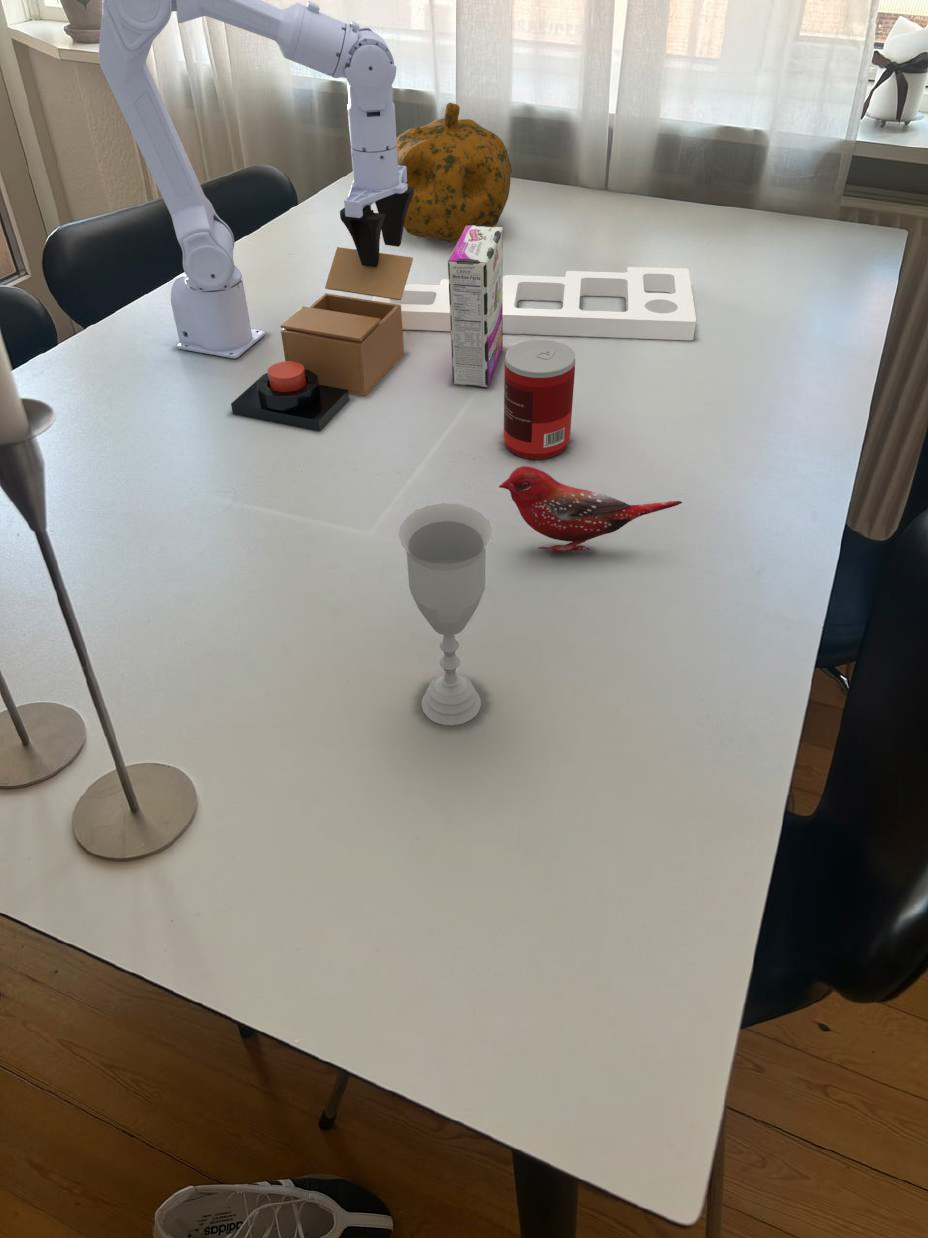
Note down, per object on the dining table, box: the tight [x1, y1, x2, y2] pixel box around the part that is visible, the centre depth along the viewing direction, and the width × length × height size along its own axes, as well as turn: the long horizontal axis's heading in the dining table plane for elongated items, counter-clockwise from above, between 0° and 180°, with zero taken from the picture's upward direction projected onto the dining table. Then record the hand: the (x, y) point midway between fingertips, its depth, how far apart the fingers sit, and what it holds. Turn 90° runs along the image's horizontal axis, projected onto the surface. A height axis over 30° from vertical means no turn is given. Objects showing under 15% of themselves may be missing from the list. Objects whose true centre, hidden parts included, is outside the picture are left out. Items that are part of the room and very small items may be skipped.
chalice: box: [398, 502, 493, 726], centre depth 76 cm, size 7×7×18 cm
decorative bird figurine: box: [498, 465, 683, 553], centre depth 94 cm, size 3×18×10 cm, turn 88°
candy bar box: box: [447, 225, 504, 388], centre depth 121 cm, size 11×5×16 cm, turn 168°
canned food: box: [503, 339, 576, 460], centre depth 109 cm, size 8×8×11 cm
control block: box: [230, 369, 350, 432], centre depth 118 cm, size 12×8×4 cm, turn 69°
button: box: [267, 360, 306, 392], centre depth 117 cm, size 4×4×2 cm
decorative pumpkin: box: [396, 101, 513, 243], centre depth 156 cm, size 20×21×20 cm
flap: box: [324, 246, 414, 300], centre depth 126 cm, size 6×11×1 cm
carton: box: [280, 292, 405, 397], centre depth 124 cm, size 12×11×8 cm
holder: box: [370, 266, 697, 342], centre depth 139 cm, size 45×18×3 cm, turn 83°
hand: (381, 254), depth 128 cm, fingers open, 7 cm apart
